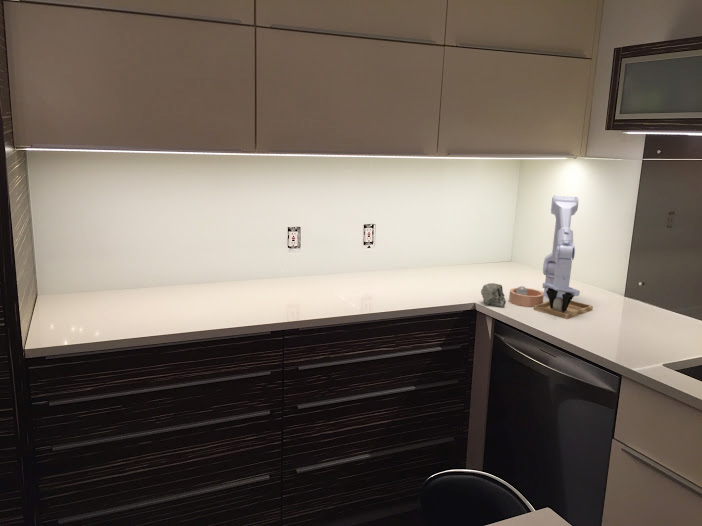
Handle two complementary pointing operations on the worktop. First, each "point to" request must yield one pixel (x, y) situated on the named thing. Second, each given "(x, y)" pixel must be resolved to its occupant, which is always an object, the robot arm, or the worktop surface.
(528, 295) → the bowl
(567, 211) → the robot arm
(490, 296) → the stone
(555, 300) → the pebble
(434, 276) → the worktop surface
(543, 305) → the tray
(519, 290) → the pebble
